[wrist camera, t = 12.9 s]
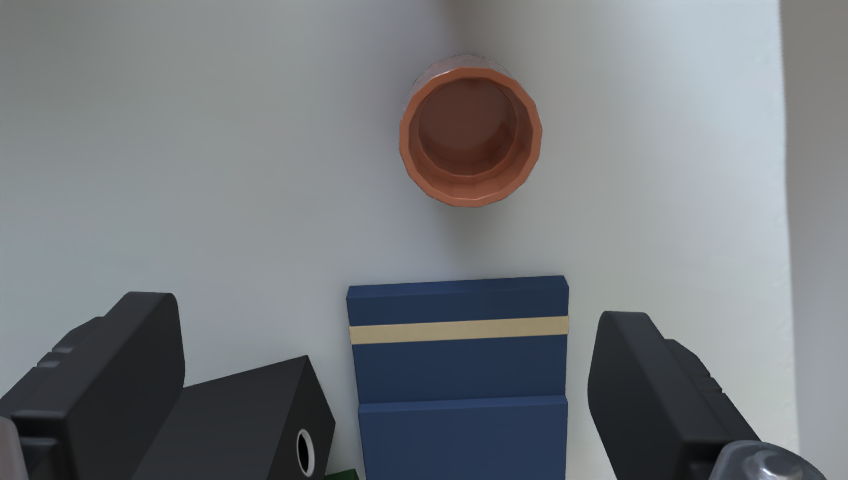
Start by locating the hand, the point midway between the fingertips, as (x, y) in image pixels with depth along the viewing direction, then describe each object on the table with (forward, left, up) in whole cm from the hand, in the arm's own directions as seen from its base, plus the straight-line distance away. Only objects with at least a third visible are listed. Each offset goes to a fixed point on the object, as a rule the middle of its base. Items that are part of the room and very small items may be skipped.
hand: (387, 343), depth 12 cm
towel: (+3, -16, -20) cm, 26 cm away
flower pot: (+3, 0, -20) cm, 20 cm away
